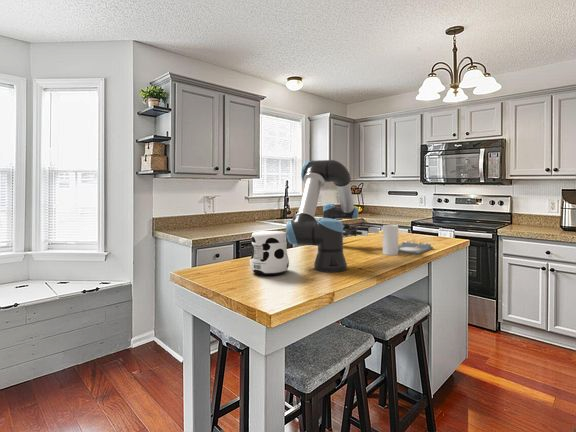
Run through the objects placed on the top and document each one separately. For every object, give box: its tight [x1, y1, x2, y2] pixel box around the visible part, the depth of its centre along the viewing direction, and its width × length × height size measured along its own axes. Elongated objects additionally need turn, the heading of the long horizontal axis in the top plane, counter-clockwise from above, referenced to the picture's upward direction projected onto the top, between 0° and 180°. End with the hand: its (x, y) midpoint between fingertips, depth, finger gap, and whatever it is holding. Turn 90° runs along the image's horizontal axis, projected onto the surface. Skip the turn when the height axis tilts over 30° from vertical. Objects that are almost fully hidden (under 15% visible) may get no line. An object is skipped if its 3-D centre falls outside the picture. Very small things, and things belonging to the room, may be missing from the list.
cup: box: [382, 224, 399, 256], centre depth 196 cm, size 8×8×16 cm
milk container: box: [249, 230, 290, 276], centre depth 157 cm, size 17×17×18 cm
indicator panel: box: [398, 240, 434, 256], centre depth 207 cm, size 24×18×4 cm
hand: (373, 232), depth 203 cm, fingers open, 13 cm apart
